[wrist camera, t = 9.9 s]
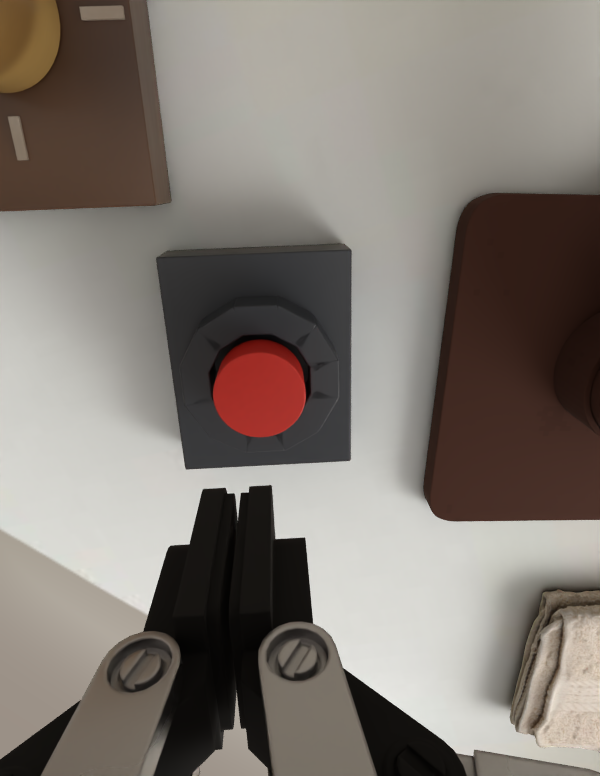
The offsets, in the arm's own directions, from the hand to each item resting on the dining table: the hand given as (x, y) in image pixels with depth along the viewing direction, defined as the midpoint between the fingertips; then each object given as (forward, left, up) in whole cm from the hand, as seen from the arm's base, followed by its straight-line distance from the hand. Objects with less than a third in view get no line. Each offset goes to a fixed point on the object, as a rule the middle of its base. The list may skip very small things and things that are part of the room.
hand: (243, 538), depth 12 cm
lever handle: (0, +17, -14) cm, 22 cm away
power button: (0, 0, -10) cm, 10 cm away
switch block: (0, 0, -13) cm, 13 cm away
